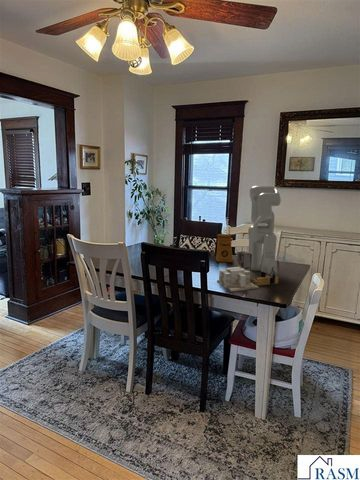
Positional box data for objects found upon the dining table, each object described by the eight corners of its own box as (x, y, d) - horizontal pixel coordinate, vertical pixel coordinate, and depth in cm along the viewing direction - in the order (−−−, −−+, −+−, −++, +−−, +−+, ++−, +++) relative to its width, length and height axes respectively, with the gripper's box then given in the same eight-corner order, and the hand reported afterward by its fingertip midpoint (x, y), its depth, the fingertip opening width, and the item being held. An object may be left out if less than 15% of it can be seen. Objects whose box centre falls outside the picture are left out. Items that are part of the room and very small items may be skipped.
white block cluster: (216, 281, 208) (217, 267, 206) (242, 279, 214) (242, 265, 212) (231, 291, 190) (231, 275, 188) (258, 288, 196) (259, 273, 194)
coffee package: (232, 263, 254) (233, 235, 250) (215, 262, 255) (216, 234, 251) (231, 260, 263) (232, 233, 259) (216, 259, 265) (216, 232, 261)
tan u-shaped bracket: (247, 279, 213) (247, 273, 212) (266, 277, 218) (266, 271, 217) (258, 285, 201) (258, 278, 201) (277, 283, 206) (278, 276, 205)
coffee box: (251, 277, 217) (252, 254, 214) (243, 278, 215) (244, 254, 212) (243, 274, 225) (244, 251, 223) (235, 275, 223) (236, 251, 220)
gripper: (256, 251, 208) (254, 277, 211) (272, 257, 192) (270, 286, 195) (266, 251, 210) (264, 276, 213) (283, 257, 194) (281, 284, 197)
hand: (267, 281), depth 204 cm, fingers open, 9 cm apart
